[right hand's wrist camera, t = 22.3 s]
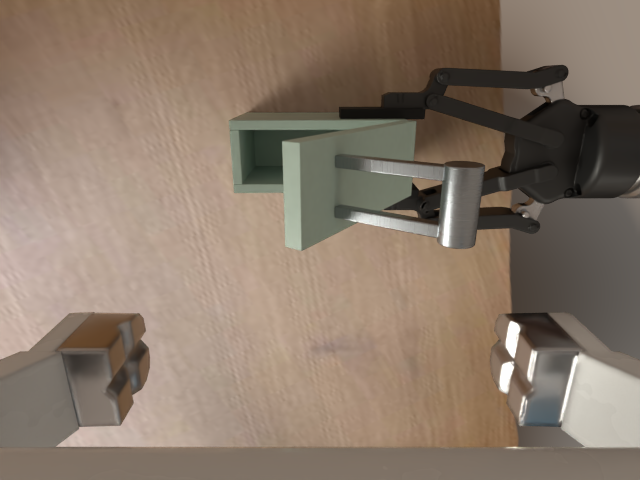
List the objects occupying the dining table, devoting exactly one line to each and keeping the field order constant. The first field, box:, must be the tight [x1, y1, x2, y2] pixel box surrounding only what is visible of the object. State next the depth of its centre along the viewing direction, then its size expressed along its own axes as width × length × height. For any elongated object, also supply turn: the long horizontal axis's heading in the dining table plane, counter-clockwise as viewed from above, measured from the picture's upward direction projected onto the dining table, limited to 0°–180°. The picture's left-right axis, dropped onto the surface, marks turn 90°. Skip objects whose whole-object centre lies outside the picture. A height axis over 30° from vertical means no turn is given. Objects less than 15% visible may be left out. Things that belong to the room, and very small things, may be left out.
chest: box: [229, 112, 407, 193], centre depth 38 cm, size 14×6×9 cm, turn 90°
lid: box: [282, 120, 485, 251], centre depth 26 cm, size 14×6×9 cm
